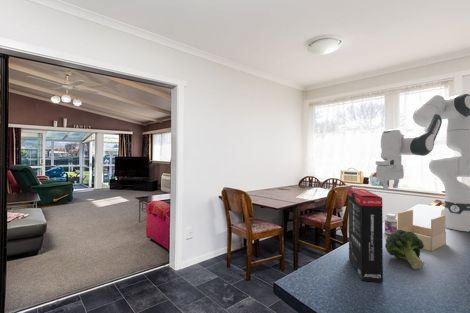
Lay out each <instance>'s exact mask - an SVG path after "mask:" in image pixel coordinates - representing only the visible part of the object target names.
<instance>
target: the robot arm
mask: <svg viewBox="0 0 470 313" xmlns="http://www.w3.org/2000/svg"><path fill="white" fill-rule="evenodd" d="M412 119H413V121H414V123H415V124H416V125H418V126H419V127H422V128H424V131H423V132H422V133H419V134H416V135H405V134H402V132H401V129H399V128H393V129H387V130H386V129H385V130H384V131H382V133H381V137H380V149H381V153H380V157H379V158H378V159H377V160H376V161H375V166H376V169H375V171H376V174H375V176H376V179H377V181H381V184H382V186H383V190H389V188H390V187H389V185H388V182H389V181H393V183H392V188H393V189H398V188H399V183H400V180H401V179H404V177H405V175H404V174H405V172H404V165H403V164H402V156H403V155H404V156H405V155H407V156H411V155H412V156H423V157H424V156H427V155H429V154H430V153H431V152H432V151H433V150H434V146H435V141H436V139H437V136H438V134H439V132H440V129H441V127H442V123H443V120H446V119H447V127H446V139H445V140H446V141H445V142H446V143H445V144H446V146H447V148H449V149H450V150H452V151H454V152H457V153H459V154H460V155H459V156H438V157H437V156H436V157H433V158H432V159H430V161H429V164H428V169H429V171H430V172H431V173H432V174H433V175H434V176H436V177H437V178H438V179H439V180H440V181H441V182H442V184H443V186H444V194H445V200H444V203H443V205H444V208H443V209H441V210H440V216H443V215H446V223H445V229H450V230H455V231H461V232H469V231H470V185H468V184H466V183H464V182H461V181H460V180H458V177H460V178H461V177H462V178H470V94H469V93H461V94H457V95H454V96H450V97H446V98H445V97H444V96H442V95H441V94H432V95H430V96H428V97H427V98H425V99H424V100H423V101H422V102H421V103H420V104H419V105H418V106H417V107H416V109H415V110H414V112H413V114H412Z"/></svg>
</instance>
